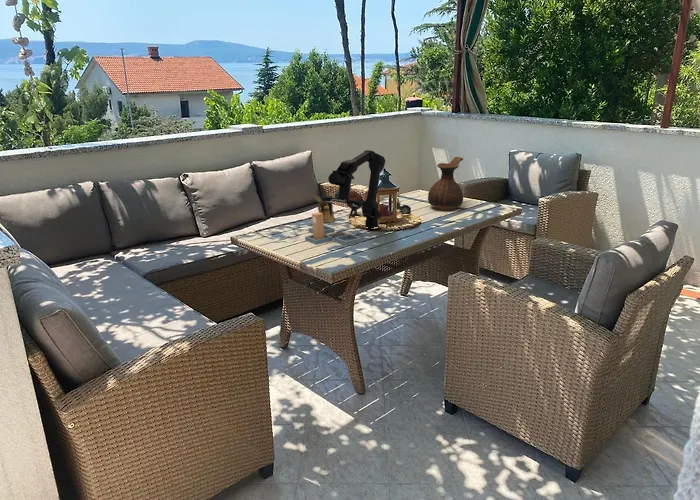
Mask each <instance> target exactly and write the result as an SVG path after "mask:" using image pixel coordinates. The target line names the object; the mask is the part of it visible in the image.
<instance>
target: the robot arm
mask: <svg viewBox="0 0 700 500" xmlns="http://www.w3.org/2000/svg"><path fill="white" fill-rule="evenodd" d="M366 162H368V168H369V171H370V174H369V175H370V176H369V182H368V189H367V196H366V199H364V201H363V203H362V207H361V208H360V209H361V212H362V217H363V218H365V220H364V221H365V222H364V227H368V228H370V229H371V228H374V227H378V226H379V227H380V224H379V222H380V220H379V219H380V218H382V216H383V215H382V212H381V211H380V209H379V203H378V201H377V196H378V190H379V183H380V182H379V181H380V175H381V172H382V171H383V170H384V168H385V164H386V159H385V157H384V156H383V155H382V154H378V153H376V151H373V150H370V149H368V150H367V149H366V150H364V151H363V152H361V153H360V154H359V155H356V156H355V157H353V158H352V159H346V160H343V161H341V163H340V164H339V166H338V167H337V169H336V170H332V172H331V173H329V175H328V179H327V180H328V183H329V184H330V185H333V186H338V191H337V190H335V194H334V197H333V195H328V194H327V195H326V194H325V195H324V196H323V202H324V201H326V203H328V206H329V210H330V216H332V205H333V202H336V203H342V204H346V203H348V204H353V206H352V208H350V209H351V210H350V212H349V215H348V216H349V217H348V220H350V219H351V218H352V217H351V215H352V214H354V210H355V208H356V207H357V208H358V206H361V201H360V200H354V201H352V200H349V194H350V192H351V186H352V180H355V176H354V175H353V174H355V172H357V170H358V168H359V167H360V166H361V165H363V164H365V163H366ZM331 202H332V203H331ZM365 230H366V231H370V230H369V229H367V228H365Z"/></svg>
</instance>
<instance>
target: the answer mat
mask: <svg viewBox="0 0 700 500" xmlns="http://www.w3.org/2000/svg"><path fill="white" fill-rule="evenodd" d="M328 235H329V236H332V237H333V240H334V238H335V237H339V236H343V235H347V233H343V232H334V233H329V234H328Z"/></svg>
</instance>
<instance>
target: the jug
mask: <svg viewBox="0 0 700 500" xmlns="http://www.w3.org/2000/svg"><path fill="white" fill-rule="evenodd" d="M463 160H464V157H459V156H454V157H453V158H452V160H451V161H450V162H447V163H446V162H445V163H444V162H440V163H438V164H436V166H437V168H438V169H440V171H441V176H440V179H439V180H437V181H435V183H433V185H432V186H431V187H430V188H429V191H428V193H427V199H428V200H427V202H428V203H429V205H430V206H431V207H433V208H435V210H438V209H439V211H444V212H445V211H448V210H449V211H454V210H456V209H457V208H459V207H460V206H462V204H463V202H464V194H463V190H462V189H461V187H460V184H458V183H457V182H456V181H455V179H454V172H455V170H456V169H458V168H459V164H460V162H461V161H463ZM449 211H448V212H449Z"/></svg>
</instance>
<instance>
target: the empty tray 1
mask: <svg viewBox="0 0 700 500" xmlns="http://www.w3.org/2000/svg"><path fill="white" fill-rule="evenodd" d="M307 229H308V233H310V234H313V226H312V227H309V228H307ZM335 233H336V232H335V228H333V227H331V226H328V225H326V224H324V234H326V235H330V234H335Z"/></svg>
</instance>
